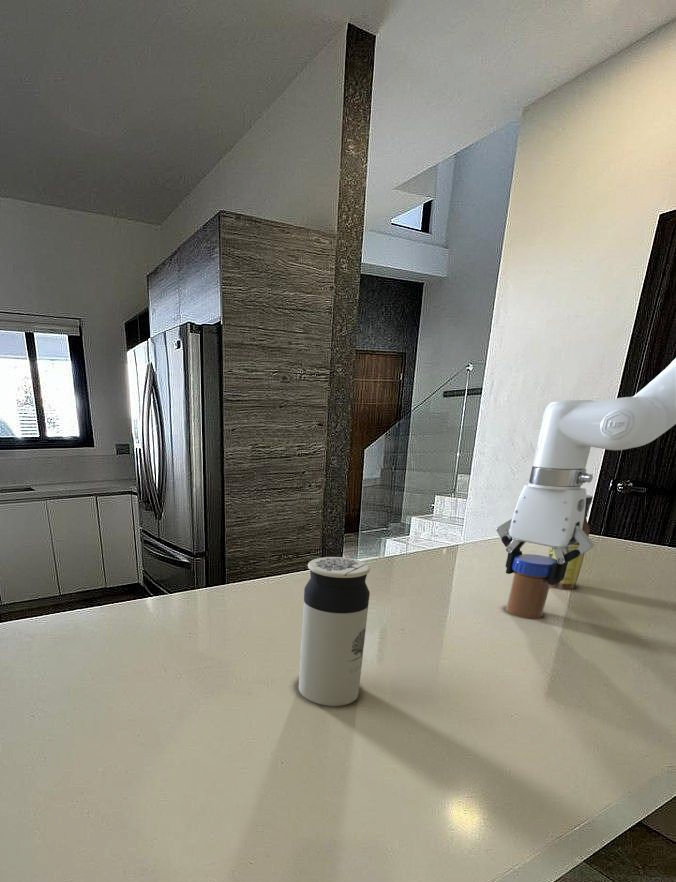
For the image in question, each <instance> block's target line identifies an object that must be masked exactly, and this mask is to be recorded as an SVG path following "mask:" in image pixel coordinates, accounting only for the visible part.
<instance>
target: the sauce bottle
mask: <svg viewBox="0 0 676 882" xmlns="http://www.w3.org/2000/svg"><path fill="white" fill-rule="evenodd" d="M593 499H594V497H593V496H592V495H589V494H586V506H585V515H584V522H583V527H582V530H583V531H584V532H585V534H586V535H587V536H588V537H589V535H590V532H591V527H590V523H588V520H587V517H588V513H589V510H590V506H591V504H592V502H593ZM569 547H570V551H572V550H574V549H576V548H577V547H579V543H577V544H574V545H569ZM585 553H586V552H585ZM585 553H583V554H582V555H581V556H579V557H577V558H575V559H573V560H572V561H570V562H568V565H567V568H566V572H565V576H564V579H563V580H562V581H560V583H557V584H554V585H550V587H549V588H554V589H560V590H572V589H574V588H575V587H576V585H577V582H578V579H579V576H580V572H581V568H582V565H583V561H584V558H585ZM547 557H551V558H554V559H556V556H555V552H554V548H553V547H549V549H548V554H547ZM556 560H557V559H556Z"/></svg>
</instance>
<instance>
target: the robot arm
mask: <svg viewBox="0 0 676 882" xmlns="http://www.w3.org/2000/svg"><path fill="white" fill-rule="evenodd" d="M541 420H542V421H541V424H540V425H541V426H540V430H539V434H538V439H537V444H536V448H535V452H534V453H535V454H534V458H533V463H532V467H531V471H530V476H529V480H528V483H527V484H524V486H523V488H522V490H521V491H520V494H519V497H518V499H517V502H516V504H515V508H514V511H513V514H512V518H511V519H508V520H507V521H505V522H504V523H503V524H501V525H499V526H498V527H496V529H495V530H496V532H497V534H498V536H499V538H500V539H501V543H502V544H503V545H504V547H505V551H506V552H507V556H506V557H507V558H506V562H505V568H506V570H505V574H507V575H511V574H514V572H515V571H514V570H513V569H512V565H513V561H514V558H515V556H516V555H520V554H523V551H522V550H521V549H522V547H523V546H524V545H525V544H526V543H529V544H535V545H540V546H544V547H545V546H546V547H549V548H550V547H553V548H554V552H555V556H556V559H557V560H556V562H555V563H553V564H552V567H551V571H550V576H549V580H548V583H549V584H550V585H554V584H557V583H560V581H562V580H563V579H564V576H565V572H566V568H567V565H568V562H570V561H572V560H573V559H575V558H577V557H579V556H581V555H582V554H583V553H587V552H589V551H590V550H592V549H593V548H594V547H595V543H594V542H593V540H592V539H591V538H590V537H589V536H587V535H586V534H585V532H584V531H583V530H582V527H583V522H584V515H585V506H586V495H587V488H585V487H584V488H583V487H581V486H583V484H585V483H587V484H588V483H591V482H592V481H593V478H594V474H592V473H591V474H590V473H588V472H587V468H586V467H587V464H588V460H589V456H590V452H591V448H595V449H601V450H609V451H623V450H624V451H625V450H629V449H633V448H639V447H642V446H645V445H647V444H650V443H652V442H653V441H655V440H656V439H657V438H659V437H661V436H662V435H663V434H665V433H666V432H668V431H669V430H670V429H671V428H672V427H674V426H675V425H676V357H675V358H674V359H673V360H672V361H671V362H670V364H668V366H666V367H665V369H663V370H662V371H661V372H660V373H659V374H658V375H656V376H655V377H654V378H653V379H652V380H651V381H650V382H649V383H647V384H646V385H645V386H644V387H643V388H642V389H640V390H639V391H638V392H637V393H636V394H634V395H633V396H625V397H617V398H610V399H609V398H608V399H603V400H590V399H566V400H556V401H552V402H550V403H549V404H547V406H546V407H545V409H544V412H543V417H542V419H541ZM577 543H579V547H577V548H576V549H574V550H572V551H570V547H569V545H574V544H577Z"/></svg>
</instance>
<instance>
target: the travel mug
mask: <svg viewBox="0 0 676 882" xmlns="http://www.w3.org/2000/svg"><path fill="white" fill-rule="evenodd" d="M307 568H308V570H309V572H310V573H309V574H310V578H309V579H308V581H307V583H306V585H305V586H304V588H303V590H304V592H303V609H302V622H301V623H302V626H301V640H300V658H299V675H298V691H299V692H300V694H301V695H302V696H303V698H305V699H307V700H309V701H310V702H313V703H315V704H318V705H322V706H329V707H338V706H339V707H340V706H346V705H349V704H351V703H353V702H354V701H356V700H357V699H358V697H359V693H360V686H361V685H360V684H361V675H362V666H363V656H364V648H365V647H364V646H365V640H366V639H365V638H366V631H367V630H366V629H367V621H368V612H369V603H370V595H371V593H370V592H371V591H370V590H369V587H368V585H367V583H366V579H367V576H368V574H369V573H370V572H371V566H370V565H369V564H368V563H366V562H365V561H362V560H359V559H354V558H351V557H344V556H343V557H342V556H325V557H318V558H315V559H312V560H310V561H309V562H307Z"/></svg>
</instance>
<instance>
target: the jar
mask: <svg viewBox="0 0 676 882" xmlns="http://www.w3.org/2000/svg"><path fill="white" fill-rule="evenodd" d="M548 580H549V577H536V576H529V575H525V574H521V573H518V572H516V571H515V572H514V573H513V576H512V581H511V585H510V586H511V587H510V590H509V594H508V599H507V604H506V608H505V611H506V612H507V613H509V614H510V615H512V616H516V617H519V618H523V619H540V618H542V617H543V614H544V611H545V607H546V602H547V598H548V595H549V592H550V591H549V590H550V588H551V587H550V584H549V583H548Z"/></svg>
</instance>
